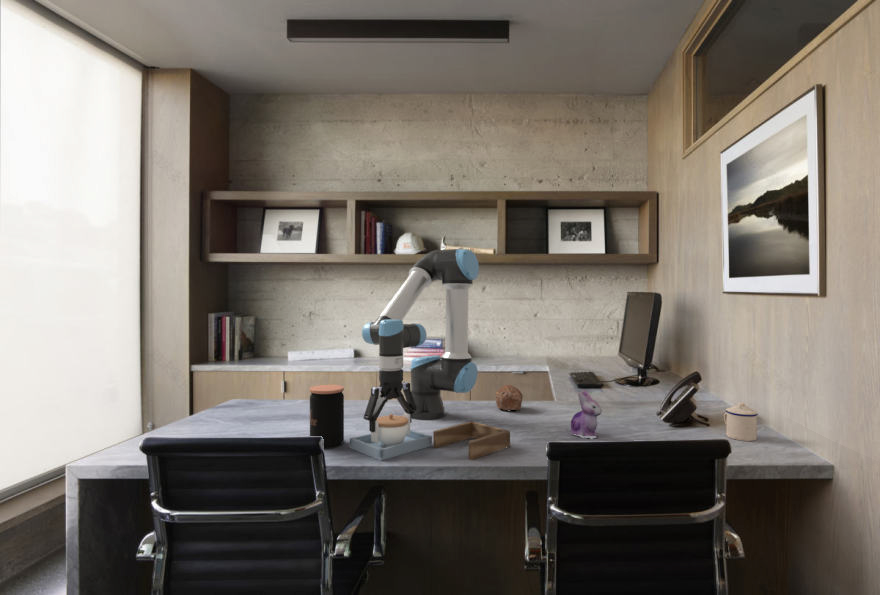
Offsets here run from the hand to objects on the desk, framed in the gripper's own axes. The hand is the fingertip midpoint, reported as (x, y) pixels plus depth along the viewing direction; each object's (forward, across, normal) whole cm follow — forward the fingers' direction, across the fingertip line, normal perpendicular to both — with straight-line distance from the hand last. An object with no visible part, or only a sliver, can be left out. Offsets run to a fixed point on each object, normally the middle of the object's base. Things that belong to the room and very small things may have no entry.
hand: (391, 437), depth 156 cm
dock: (+3, +18, -18) cm, 25 cm away
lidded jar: (+2, 0, 0) cm, 2 cm away
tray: (+3, 0, 0) cm, 3 cm away
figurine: (+3, +56, -36) cm, 66 cm away
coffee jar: (+3, -13, +16) cm, 21 cm away
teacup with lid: (+3, +92, -72) cm, 117 cm away
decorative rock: (+3, +66, +6) cm, 66 cm away
